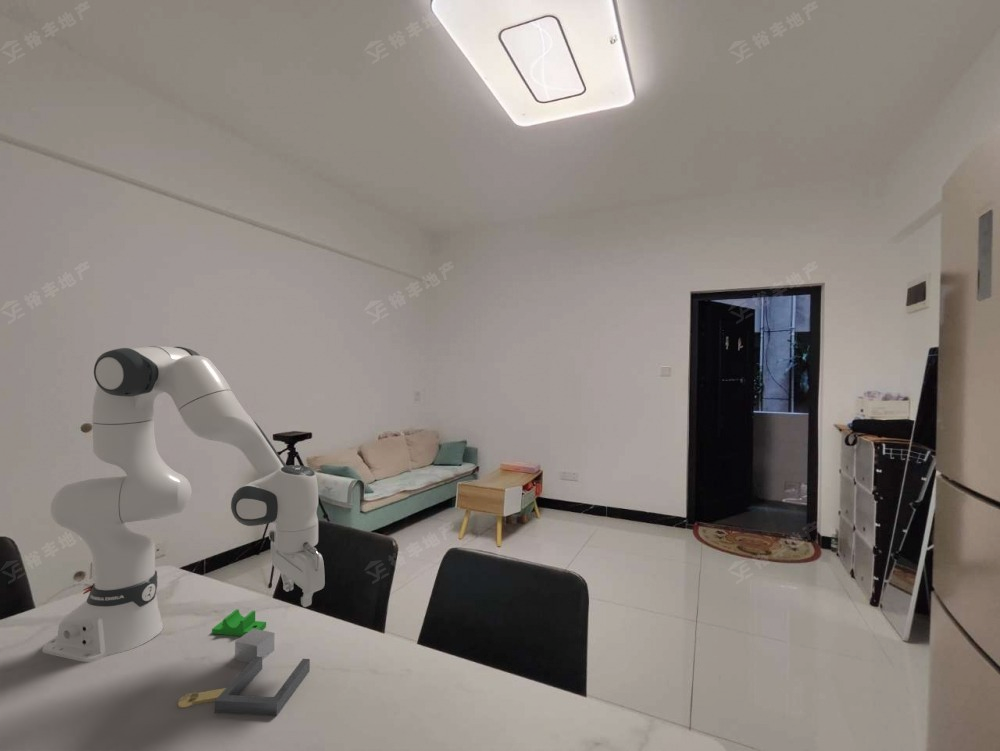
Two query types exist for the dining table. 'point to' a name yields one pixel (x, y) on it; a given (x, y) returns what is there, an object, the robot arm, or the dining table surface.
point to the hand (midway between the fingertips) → (297, 597)
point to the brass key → (199, 698)
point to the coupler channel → (253, 704)
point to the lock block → (254, 645)
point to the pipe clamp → (238, 624)
